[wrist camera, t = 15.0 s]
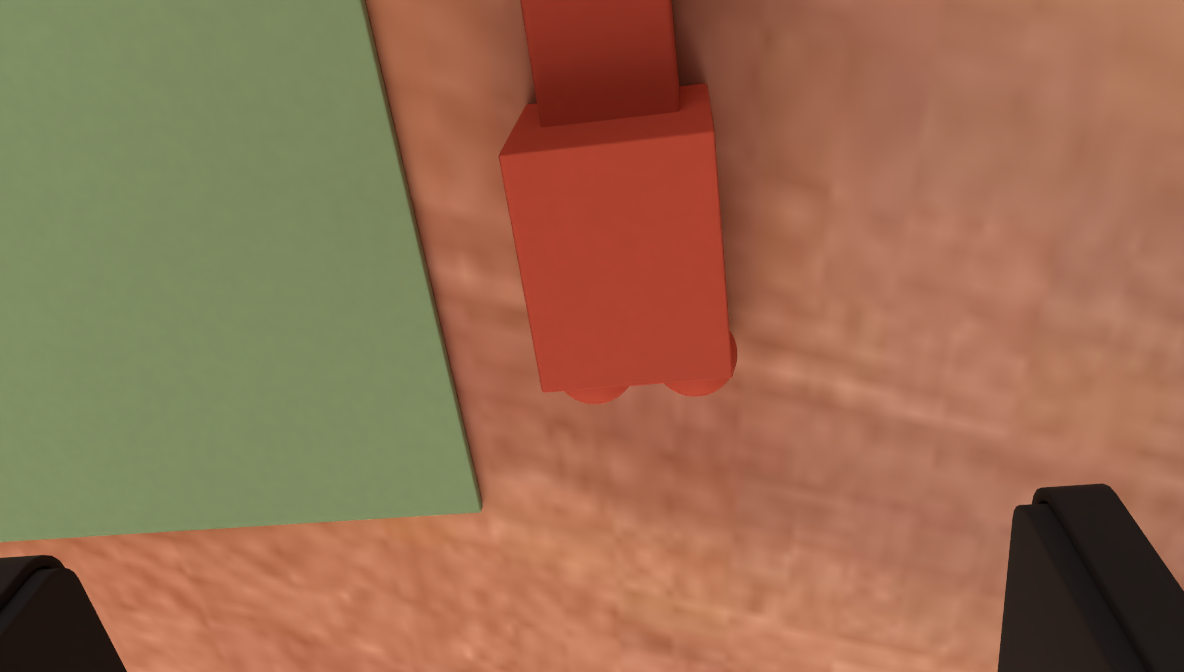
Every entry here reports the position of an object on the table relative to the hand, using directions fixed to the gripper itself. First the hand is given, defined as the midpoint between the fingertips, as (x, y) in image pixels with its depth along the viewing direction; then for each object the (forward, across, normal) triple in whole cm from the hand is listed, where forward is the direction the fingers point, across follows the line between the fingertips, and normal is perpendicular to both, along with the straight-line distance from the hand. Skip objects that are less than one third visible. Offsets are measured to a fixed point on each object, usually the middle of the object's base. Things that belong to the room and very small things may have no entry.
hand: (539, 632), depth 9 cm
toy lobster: (+14, 0, +1) cm, 14 cm away
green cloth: (+14, +15, +2) cm, 20 cm away
